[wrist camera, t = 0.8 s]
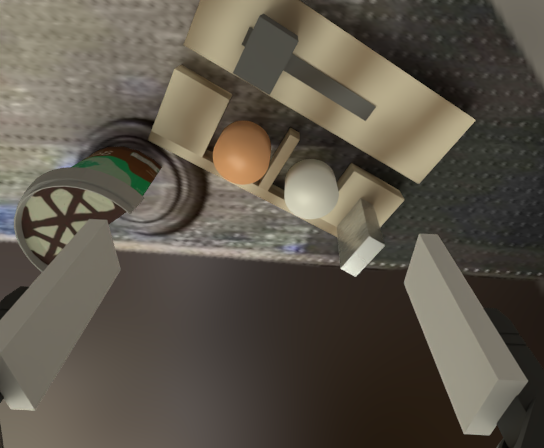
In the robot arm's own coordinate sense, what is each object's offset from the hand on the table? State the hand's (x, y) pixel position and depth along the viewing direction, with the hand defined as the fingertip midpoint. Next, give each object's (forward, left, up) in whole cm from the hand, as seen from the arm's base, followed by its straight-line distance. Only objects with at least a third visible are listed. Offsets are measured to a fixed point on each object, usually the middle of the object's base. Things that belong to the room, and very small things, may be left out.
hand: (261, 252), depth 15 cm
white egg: (+6, -3, -18) cm, 20 cm away
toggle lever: (+12, -4, -19) cm, 22 cm away
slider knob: (-3, +5, -18) cm, 19 cm away
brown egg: (-1, -3, -18) cm, 19 cm away
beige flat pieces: (+3, +1, -21) cm, 21 cm away
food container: (-12, -13, -21) cm, 28 cm away
